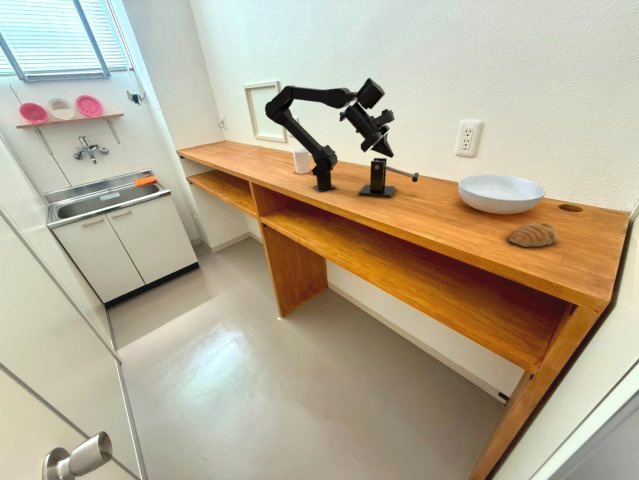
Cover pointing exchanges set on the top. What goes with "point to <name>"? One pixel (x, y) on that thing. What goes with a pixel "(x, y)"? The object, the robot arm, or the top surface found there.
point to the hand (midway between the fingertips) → (392, 156)
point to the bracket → (377, 181)
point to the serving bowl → (500, 193)
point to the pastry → (534, 235)
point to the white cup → (302, 160)
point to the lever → (403, 173)
